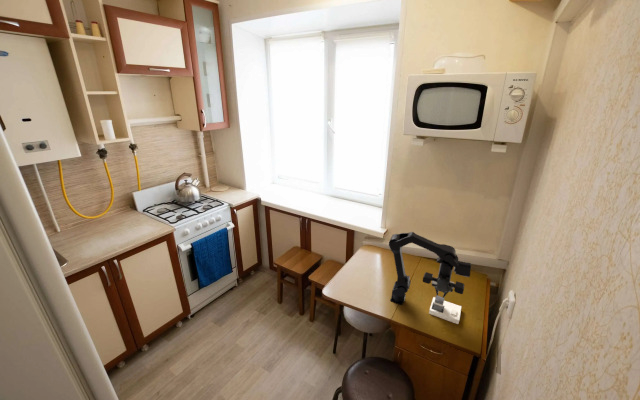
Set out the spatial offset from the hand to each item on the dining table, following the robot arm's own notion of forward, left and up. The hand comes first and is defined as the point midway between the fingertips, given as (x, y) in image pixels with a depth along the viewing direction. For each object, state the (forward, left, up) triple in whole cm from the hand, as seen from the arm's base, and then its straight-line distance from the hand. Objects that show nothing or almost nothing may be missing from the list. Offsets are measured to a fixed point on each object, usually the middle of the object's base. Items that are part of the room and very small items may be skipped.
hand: (440, 296), depth 141 cm
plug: (0, 0, -10) cm, 10 cm away
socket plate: (+3, +1, -10) cm, 11 cm away
